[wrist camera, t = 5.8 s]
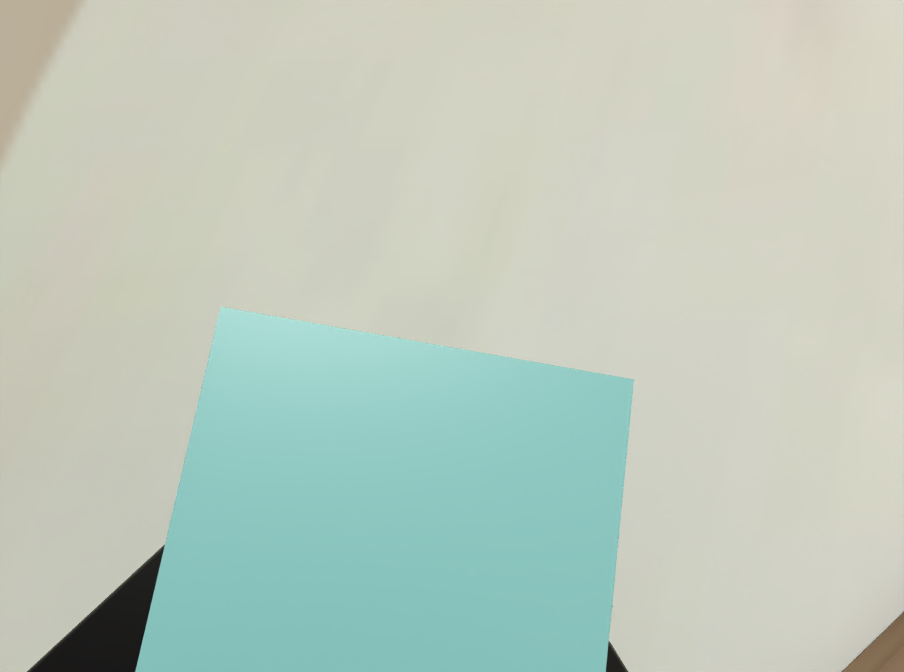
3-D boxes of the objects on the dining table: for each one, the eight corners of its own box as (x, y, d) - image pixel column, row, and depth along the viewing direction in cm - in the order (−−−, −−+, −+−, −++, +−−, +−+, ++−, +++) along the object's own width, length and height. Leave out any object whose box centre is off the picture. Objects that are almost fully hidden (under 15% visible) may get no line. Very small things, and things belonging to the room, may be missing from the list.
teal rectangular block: (424, 795, 15) (540, 1347, 5) (231, 772, 15) (-15, 1317, 5) (475, 443, 17) (633, 380, 7) (302, 415, 16) (220, 305, 7)
